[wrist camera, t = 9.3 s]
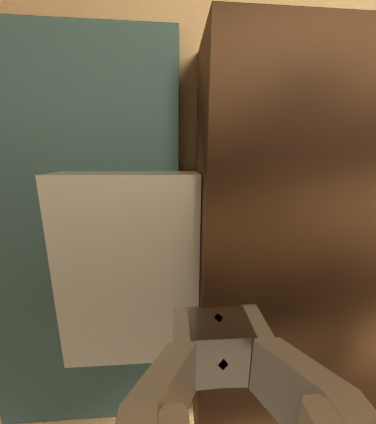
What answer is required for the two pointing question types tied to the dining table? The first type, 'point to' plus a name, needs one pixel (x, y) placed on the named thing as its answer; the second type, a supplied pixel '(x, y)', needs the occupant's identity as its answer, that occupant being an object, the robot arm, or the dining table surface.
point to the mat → (70, 161)
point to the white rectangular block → (120, 260)
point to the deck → (289, 185)
